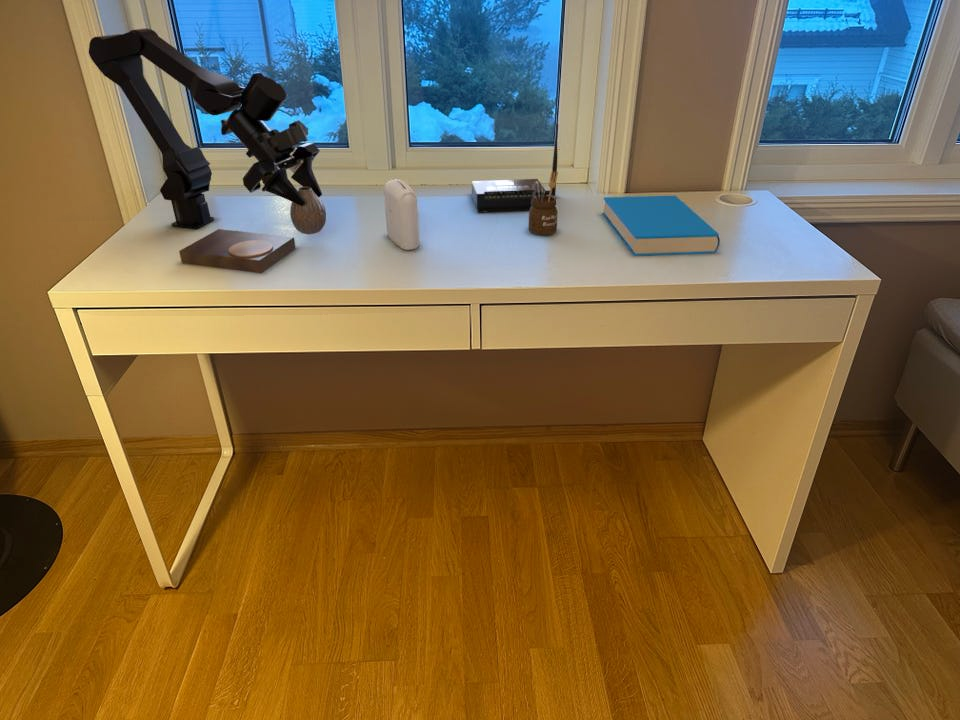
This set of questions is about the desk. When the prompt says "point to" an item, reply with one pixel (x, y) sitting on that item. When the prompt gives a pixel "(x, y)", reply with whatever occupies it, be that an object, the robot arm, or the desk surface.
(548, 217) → the utensil holder
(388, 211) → the photo printer
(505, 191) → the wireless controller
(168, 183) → the robot arm
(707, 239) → the book
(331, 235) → the desk surface
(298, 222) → the vase
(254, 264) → the riser board
